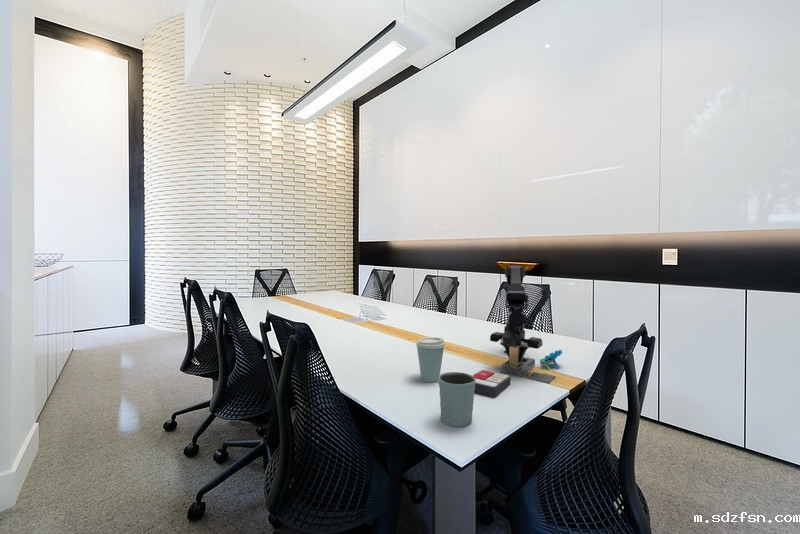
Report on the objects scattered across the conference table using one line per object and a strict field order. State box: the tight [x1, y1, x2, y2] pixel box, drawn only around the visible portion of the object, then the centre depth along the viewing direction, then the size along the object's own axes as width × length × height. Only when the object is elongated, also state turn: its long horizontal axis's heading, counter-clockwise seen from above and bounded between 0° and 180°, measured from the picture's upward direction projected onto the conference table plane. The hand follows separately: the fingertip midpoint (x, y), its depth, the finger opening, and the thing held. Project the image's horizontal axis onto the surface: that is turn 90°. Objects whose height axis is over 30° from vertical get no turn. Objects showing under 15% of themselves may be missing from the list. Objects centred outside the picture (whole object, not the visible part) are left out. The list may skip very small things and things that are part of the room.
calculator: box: [472, 369, 512, 399], centre depth 123 cm, size 11×4×15 cm
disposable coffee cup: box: [416, 336, 446, 383], centre depth 130 cm, size 11×11×15 cm
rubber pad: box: [526, 371, 557, 384], centre depth 132 cm, size 8×8×1 cm
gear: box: [539, 349, 563, 371], centre depth 143 cm, size 11×6×10 cm
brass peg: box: [508, 345, 521, 367], centre depth 138 cm, size 3×3×10 cm
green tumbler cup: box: [438, 371, 476, 429], centre depth 99 cm, size 10×10×12 cm
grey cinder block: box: [500, 356, 536, 378], centre depth 141 cm, size 8×16×3 cm, turn 142°
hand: (515, 361), depth 138 cm, fingers closed on brass peg, 3 cm apart
